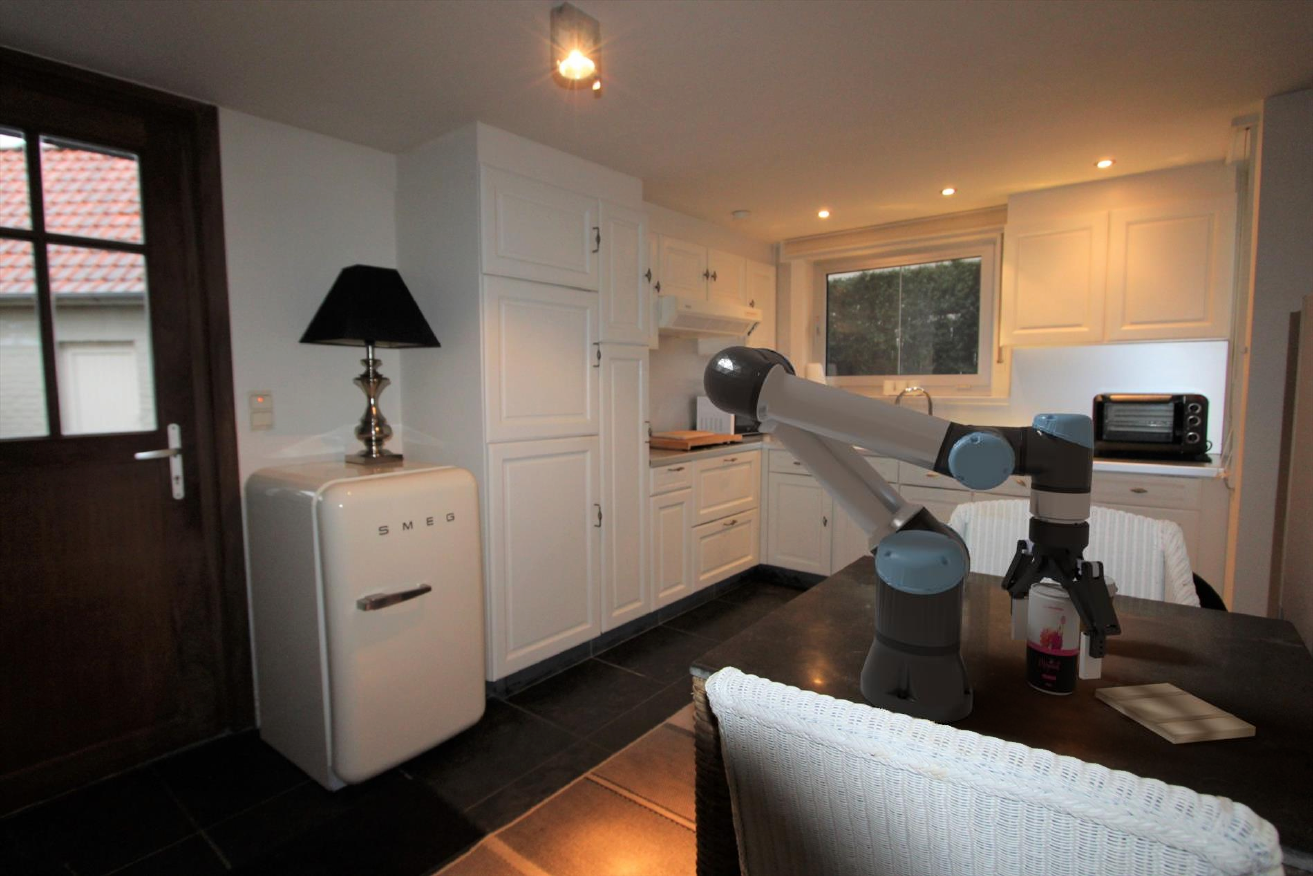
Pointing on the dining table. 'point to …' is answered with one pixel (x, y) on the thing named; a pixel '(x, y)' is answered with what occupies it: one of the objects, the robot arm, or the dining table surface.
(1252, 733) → the trivet
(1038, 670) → the beverage can
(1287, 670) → the dining table surface
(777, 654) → the dining table surface
